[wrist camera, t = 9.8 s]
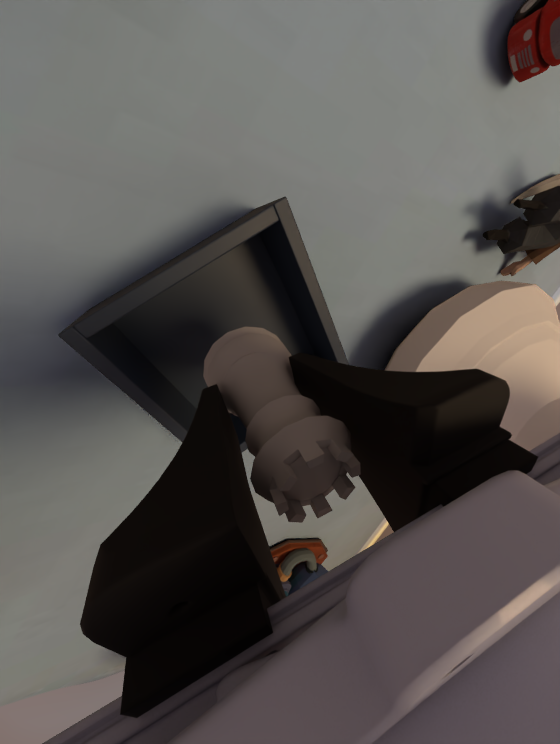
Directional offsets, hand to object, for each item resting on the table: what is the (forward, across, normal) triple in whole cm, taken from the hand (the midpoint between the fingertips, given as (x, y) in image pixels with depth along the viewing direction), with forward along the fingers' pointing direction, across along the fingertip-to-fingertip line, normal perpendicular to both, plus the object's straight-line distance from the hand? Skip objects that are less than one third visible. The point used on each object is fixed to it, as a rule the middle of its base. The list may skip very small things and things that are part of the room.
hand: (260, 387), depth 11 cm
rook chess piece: (+3, 0, 0) cm, 3 cm away
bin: (+8, 0, 0) cm, 8 cm away
